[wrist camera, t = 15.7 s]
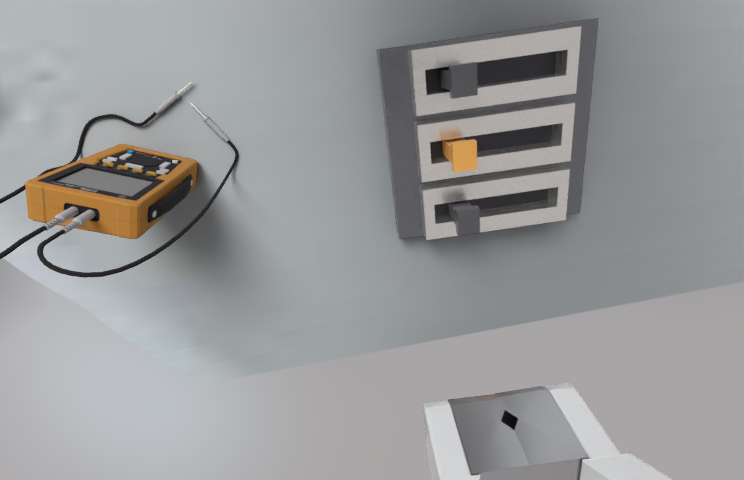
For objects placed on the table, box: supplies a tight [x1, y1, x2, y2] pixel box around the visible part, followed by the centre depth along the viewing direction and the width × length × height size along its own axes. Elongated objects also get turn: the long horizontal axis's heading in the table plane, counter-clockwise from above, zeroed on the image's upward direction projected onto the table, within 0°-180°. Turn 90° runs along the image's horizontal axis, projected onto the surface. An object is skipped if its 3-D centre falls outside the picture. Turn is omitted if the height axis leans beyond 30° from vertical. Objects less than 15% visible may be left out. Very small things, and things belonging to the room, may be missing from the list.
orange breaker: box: [442, 138, 477, 172], centre depth 36 cm, size 2×2×5 cm
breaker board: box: [377, 18, 598, 240], centre depth 38 cm, size 19×18×4 cm
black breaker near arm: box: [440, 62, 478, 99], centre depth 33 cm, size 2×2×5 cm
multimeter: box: [0, 81, 238, 277], centre depth 29 cm, size 15×10×20 cm
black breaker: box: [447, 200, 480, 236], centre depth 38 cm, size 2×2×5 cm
